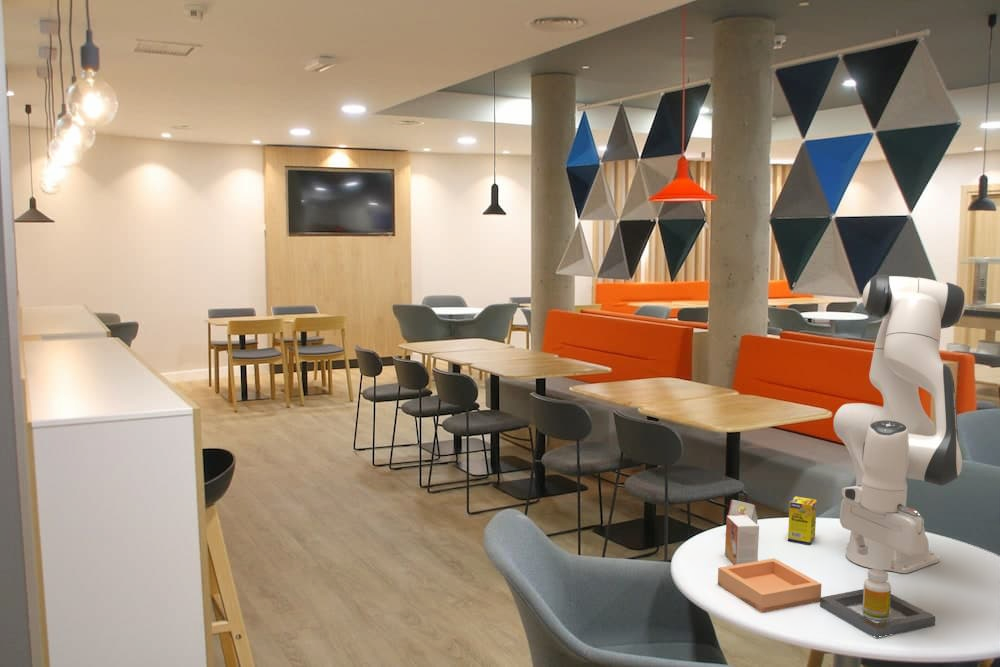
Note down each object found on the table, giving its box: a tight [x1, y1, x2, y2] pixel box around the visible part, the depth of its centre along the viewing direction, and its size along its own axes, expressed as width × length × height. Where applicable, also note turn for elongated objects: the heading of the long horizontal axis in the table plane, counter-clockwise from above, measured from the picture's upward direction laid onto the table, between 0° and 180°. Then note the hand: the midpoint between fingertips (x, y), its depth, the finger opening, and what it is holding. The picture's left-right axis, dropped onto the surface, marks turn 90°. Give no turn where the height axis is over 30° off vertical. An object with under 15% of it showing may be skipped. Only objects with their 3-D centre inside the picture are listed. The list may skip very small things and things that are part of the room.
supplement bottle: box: [862, 568, 892, 622], centre depth 181 cm, size 5×5×10 cm
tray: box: [717, 557, 822, 613], centre depth 193 cm, size 16×16×4 cm
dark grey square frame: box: [819, 588, 936, 637], centre depth 181 cm, size 16×16×2 cm
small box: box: [724, 515, 760, 565], centre depth 211 cm, size 8×6×10 cm
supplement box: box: [787, 495, 818, 546], centre depth 225 cm, size 6×6×11 cm
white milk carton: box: [727, 499, 759, 525], centre depth 227 cm, size 4×7×10 cm, turn 45°
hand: (878, 561), depth 179 cm, fingers open, 8 cm apart
